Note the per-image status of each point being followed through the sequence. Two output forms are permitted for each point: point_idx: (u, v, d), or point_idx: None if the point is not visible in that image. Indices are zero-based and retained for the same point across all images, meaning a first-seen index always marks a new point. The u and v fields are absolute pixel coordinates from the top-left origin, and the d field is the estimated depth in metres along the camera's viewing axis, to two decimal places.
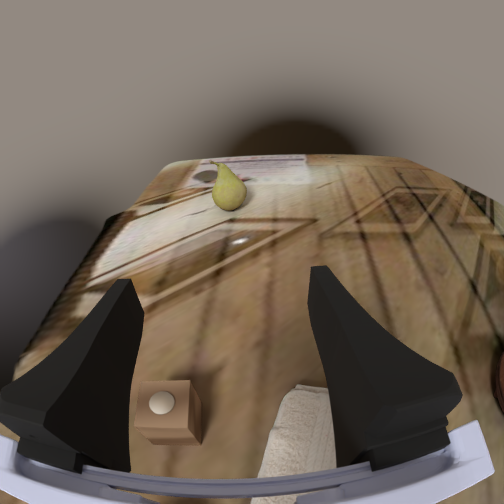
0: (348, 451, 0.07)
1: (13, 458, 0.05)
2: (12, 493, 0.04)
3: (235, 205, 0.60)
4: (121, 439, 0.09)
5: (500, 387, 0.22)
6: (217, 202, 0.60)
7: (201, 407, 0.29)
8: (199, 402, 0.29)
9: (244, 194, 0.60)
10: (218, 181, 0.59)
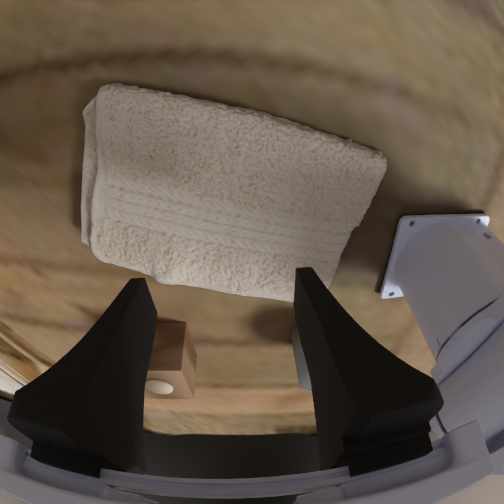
0: (329, 455, 0.07)
1: (13, 458, 0.05)
2: (12, 493, 0.04)
3: None
4: (136, 441, 0.09)
5: None
6: None
7: None
8: None
9: None
10: None
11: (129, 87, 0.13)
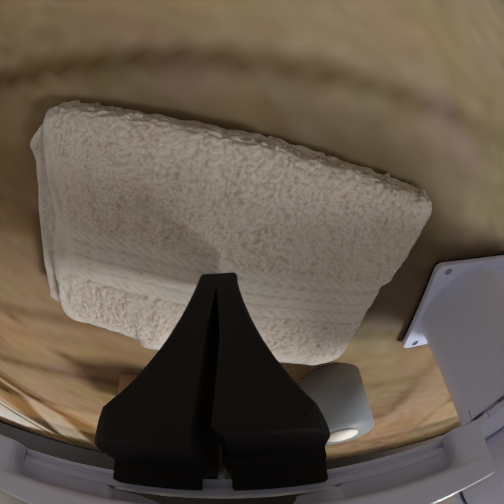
0: None
1: (13, 458, 0.05)
2: (12, 493, 0.04)
3: None
4: (220, 444, 0.09)
5: None
6: None
7: (127, 374, 0.22)
8: (124, 384, 0.21)
9: None
10: None
11: (85, 108, 0.09)
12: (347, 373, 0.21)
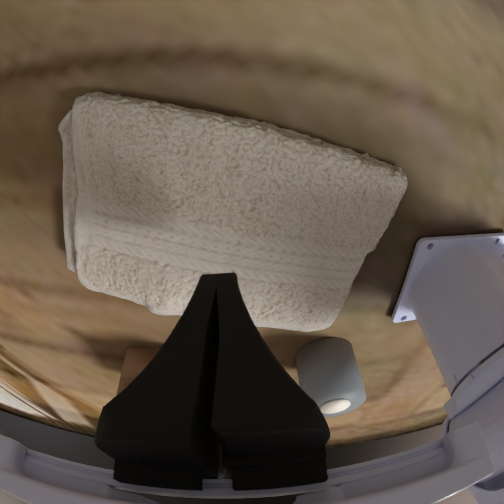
0: None
1: (13, 458, 0.05)
2: (12, 493, 0.04)
3: None
4: (220, 444, 0.09)
5: None
6: None
7: (133, 348, 0.24)
8: (129, 357, 0.23)
9: None
10: None
11: (109, 97, 0.11)
12: (340, 346, 0.23)
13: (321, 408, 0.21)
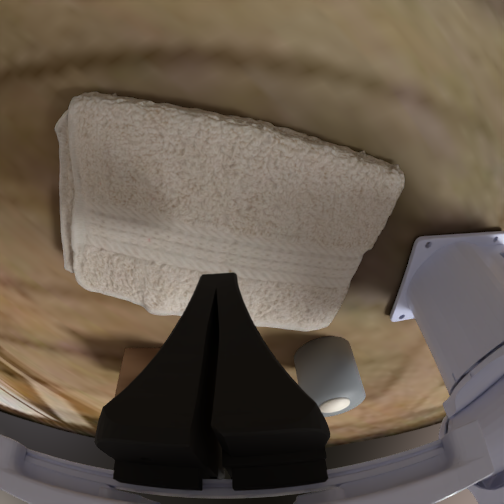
0: None
1: (13, 458, 0.05)
2: (12, 493, 0.04)
3: None
4: (220, 444, 0.09)
5: None
6: None
7: (131, 348, 0.24)
8: (128, 357, 0.23)
9: None
10: None
11: (105, 97, 0.11)
12: (338, 345, 0.23)
13: (321, 407, 0.21)
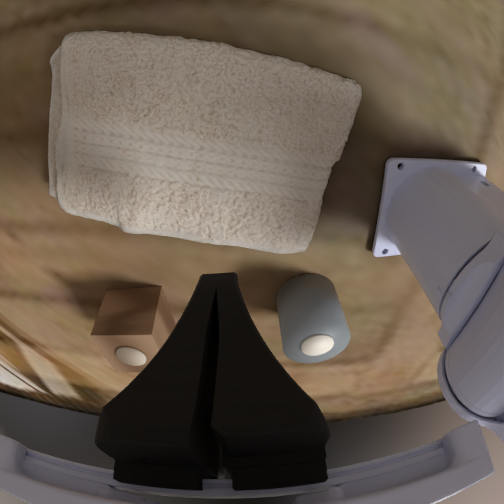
0: None
1: (13, 458, 0.05)
2: (12, 493, 0.04)
3: None
4: (220, 444, 0.09)
5: None
6: None
7: (112, 290, 0.24)
8: (108, 297, 0.23)
9: None
10: None
11: (92, 31, 0.11)
12: (320, 282, 0.23)
13: (302, 346, 0.21)
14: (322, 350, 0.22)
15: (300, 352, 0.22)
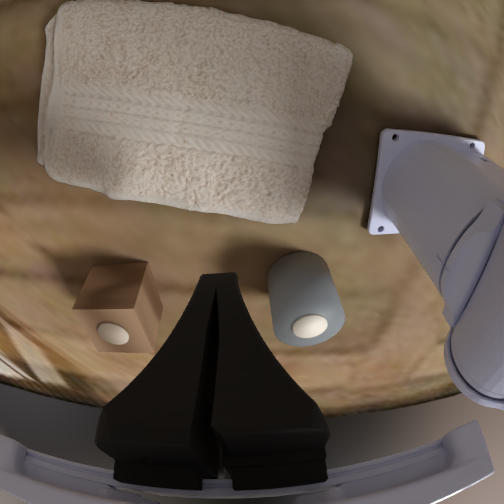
0: None
1: (13, 458, 0.05)
2: (12, 493, 0.04)
3: None
4: (220, 444, 0.09)
5: None
6: None
7: (98, 265, 0.23)
8: (93, 273, 0.22)
9: None
10: None
11: (87, 0, 0.10)
12: (314, 260, 0.23)
13: (294, 327, 0.20)
14: (315, 332, 0.21)
15: (291, 334, 0.21)
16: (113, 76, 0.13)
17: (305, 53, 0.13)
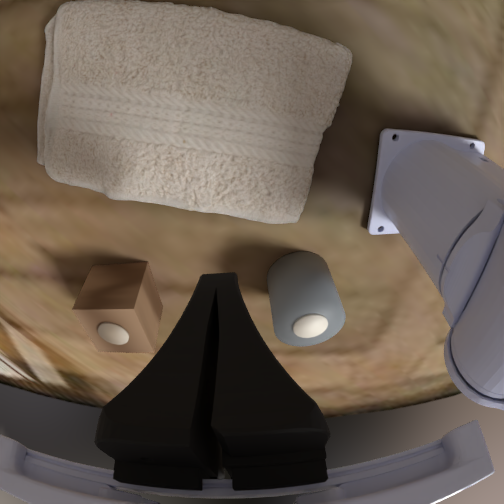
0: None
1: (13, 458, 0.05)
2: (12, 493, 0.04)
3: None
4: (220, 444, 0.09)
5: None
6: None
7: (98, 265, 0.23)
8: (93, 273, 0.22)
9: None
10: None
11: (86, 0, 0.10)
12: (314, 260, 0.23)
13: (294, 327, 0.20)
14: (315, 332, 0.21)
15: (292, 333, 0.21)
16: (113, 76, 0.13)
17: (305, 53, 0.13)
